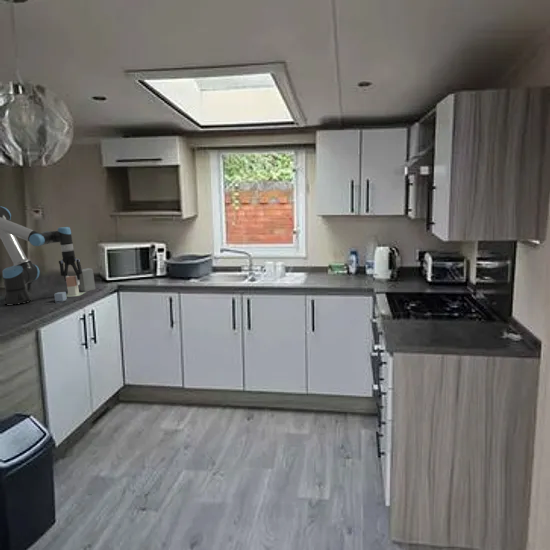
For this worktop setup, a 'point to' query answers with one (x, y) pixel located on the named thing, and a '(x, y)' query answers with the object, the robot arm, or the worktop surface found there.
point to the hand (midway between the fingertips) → (73, 285)
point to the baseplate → (76, 295)
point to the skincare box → (87, 280)
